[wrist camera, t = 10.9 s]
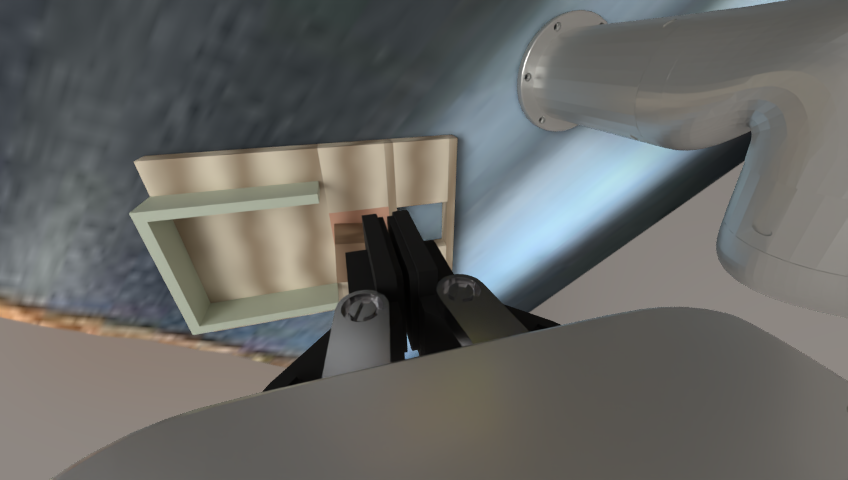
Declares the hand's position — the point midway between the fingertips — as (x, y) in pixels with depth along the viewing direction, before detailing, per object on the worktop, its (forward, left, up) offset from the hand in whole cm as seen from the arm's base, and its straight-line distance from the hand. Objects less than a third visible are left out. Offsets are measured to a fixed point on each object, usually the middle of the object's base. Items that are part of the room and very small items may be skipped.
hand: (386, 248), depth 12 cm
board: (+4, +13, -27) cm, 30 cm away
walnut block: (+1, +14, -25) cm, 29 cm away
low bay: (+12, +13, -25) cm, 31 cm away
